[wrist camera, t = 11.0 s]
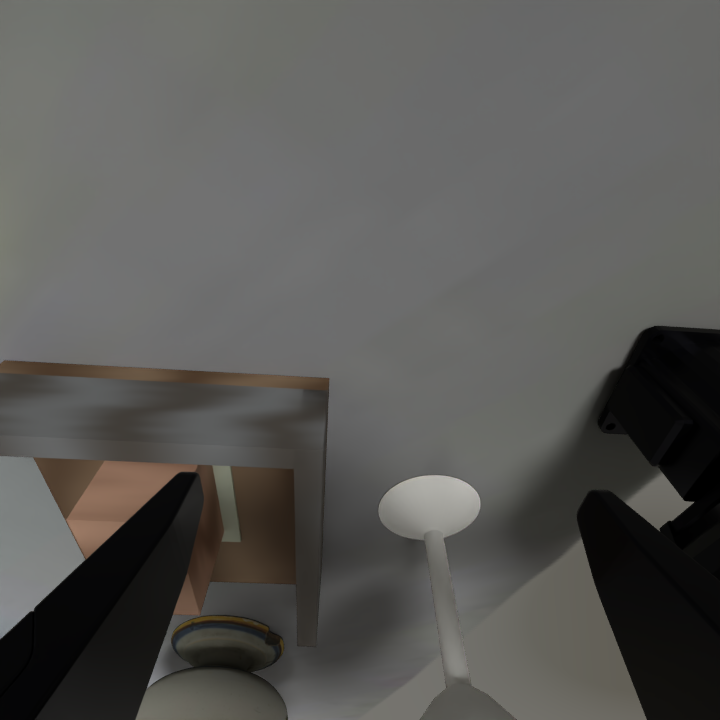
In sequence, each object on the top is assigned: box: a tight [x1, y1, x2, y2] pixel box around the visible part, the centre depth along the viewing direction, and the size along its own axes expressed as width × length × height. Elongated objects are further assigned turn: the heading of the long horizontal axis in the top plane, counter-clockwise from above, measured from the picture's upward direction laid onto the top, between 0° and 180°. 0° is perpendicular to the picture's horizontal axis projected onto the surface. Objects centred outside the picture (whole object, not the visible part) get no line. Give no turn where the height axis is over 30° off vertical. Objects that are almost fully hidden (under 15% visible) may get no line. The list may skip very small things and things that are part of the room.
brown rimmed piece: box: [0, 361, 329, 647], centre depth 24 cm, size 16×18×5 cm
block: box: [66, 461, 224, 615], centre depth 22 cm, size 8×4×5 cm, turn 176°
